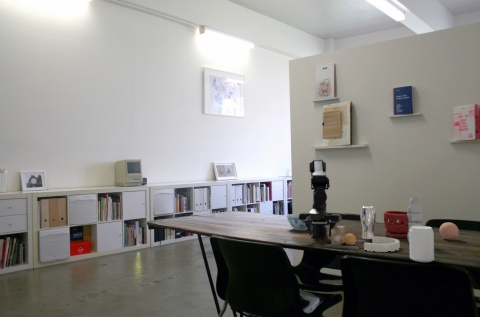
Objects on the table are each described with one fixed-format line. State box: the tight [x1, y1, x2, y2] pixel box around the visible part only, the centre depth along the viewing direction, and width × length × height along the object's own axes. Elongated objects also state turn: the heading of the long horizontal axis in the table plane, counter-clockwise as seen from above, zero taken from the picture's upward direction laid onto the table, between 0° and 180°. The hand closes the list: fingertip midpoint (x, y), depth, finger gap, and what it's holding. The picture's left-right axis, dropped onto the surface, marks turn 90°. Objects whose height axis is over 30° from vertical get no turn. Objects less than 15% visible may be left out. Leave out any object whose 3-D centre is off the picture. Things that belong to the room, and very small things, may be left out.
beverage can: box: [408, 225, 435, 263], centre depth 145 cm, size 8×8×12 cm
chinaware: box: [286, 213, 308, 231], centre depth 220 cm, size 15×15×8 cm
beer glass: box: [360, 205, 377, 240], centre depth 190 cm, size 7×7×15 cm
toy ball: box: [439, 222, 460, 241], centre depth 184 cm, size 8×8×8 cm
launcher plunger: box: [330, 225, 346, 245], centre depth 177 cm, size 3×12×7 cm, turn 151°
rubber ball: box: [344, 233, 357, 246], centre depth 174 cm, size 5×5×5 cm
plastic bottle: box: [406, 197, 423, 242], centre depth 175 cm, size 6×7×20 cm
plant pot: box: [383, 210, 409, 239], centre depth 194 cm, size 13×13×12 cm
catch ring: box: [363, 235, 401, 253], centre depth 167 cm, size 12×19×3 cm, turn 151°
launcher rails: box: [324, 239, 367, 250], centre depth 175 cm, size 14×16×1 cm
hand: (320, 236), depth 181 cm, fingers open, 9 cm apart
